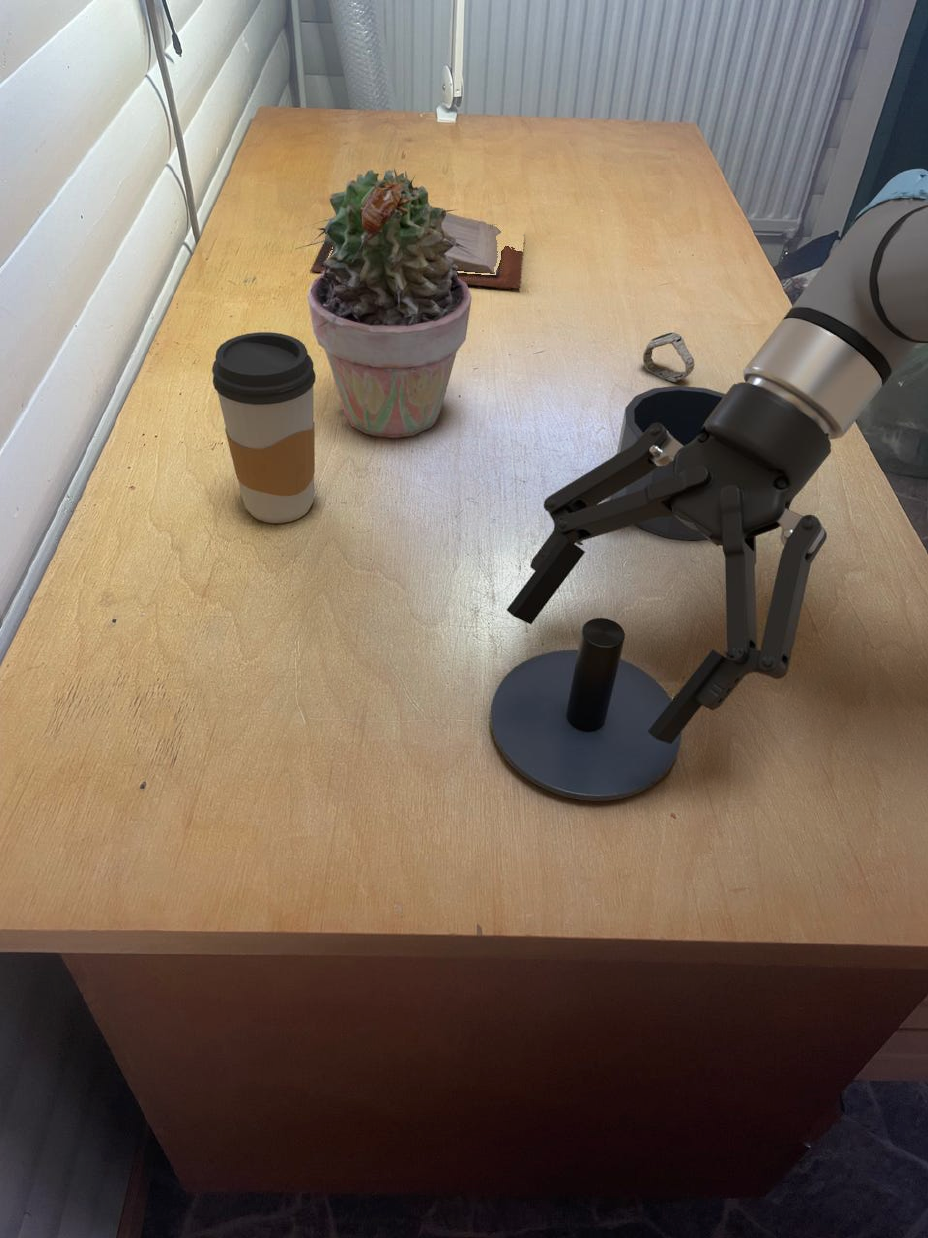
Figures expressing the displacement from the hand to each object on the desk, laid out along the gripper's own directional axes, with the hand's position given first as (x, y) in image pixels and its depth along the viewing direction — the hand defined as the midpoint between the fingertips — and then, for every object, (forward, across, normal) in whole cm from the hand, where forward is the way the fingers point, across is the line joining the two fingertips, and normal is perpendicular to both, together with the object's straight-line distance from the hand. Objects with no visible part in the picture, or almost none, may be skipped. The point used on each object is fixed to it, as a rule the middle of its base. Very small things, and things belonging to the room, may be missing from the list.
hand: (584, 674), depth 61 cm
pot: (-15, +15, -24) cm, 32 cm away
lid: (+3, 0, -5) cm, 6 cm away
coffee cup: (+7, +36, -2) cm, 37 cm away
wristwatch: (-27, +32, -36) cm, 56 cm away
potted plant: (-6, +44, -15) cm, 47 cm away
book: (-25, +75, -34) cm, 86 cm away
